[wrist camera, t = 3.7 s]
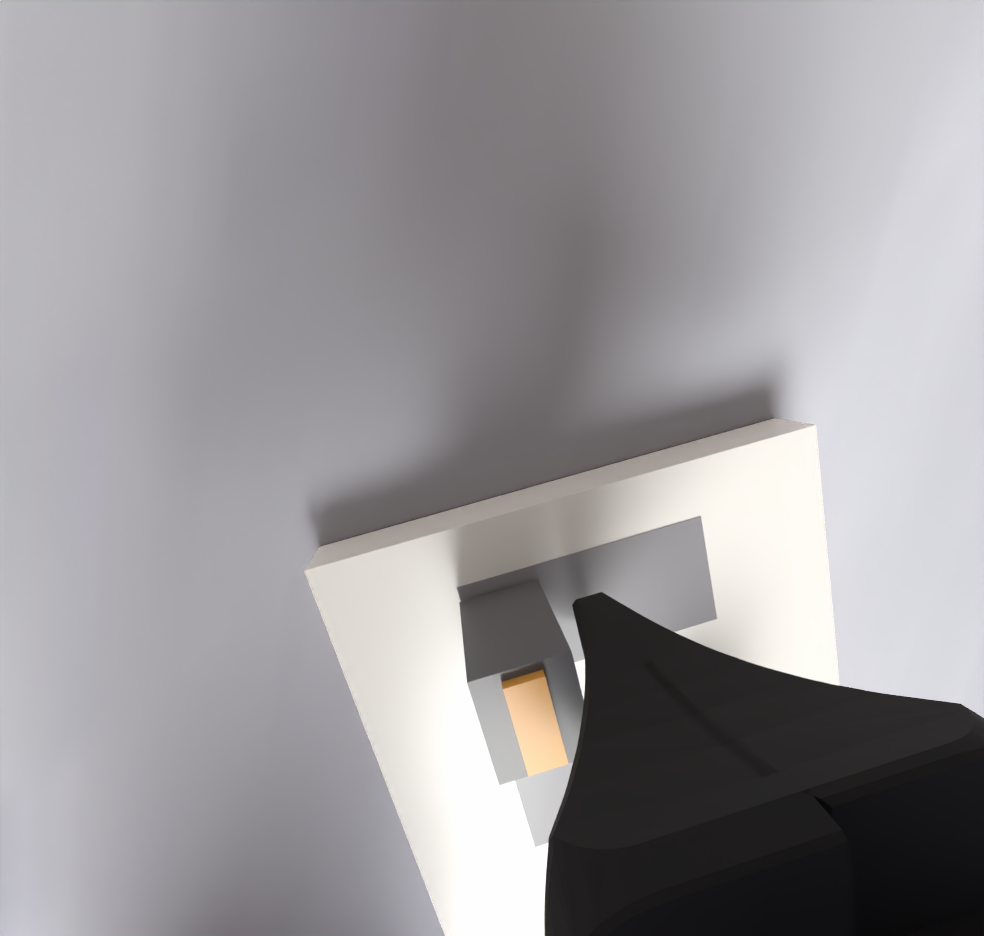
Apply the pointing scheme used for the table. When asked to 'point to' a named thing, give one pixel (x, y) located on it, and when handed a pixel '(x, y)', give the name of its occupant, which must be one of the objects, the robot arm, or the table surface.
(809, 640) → the breaker panel
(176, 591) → the table surface
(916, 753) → the robot arm
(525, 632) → the breaker
